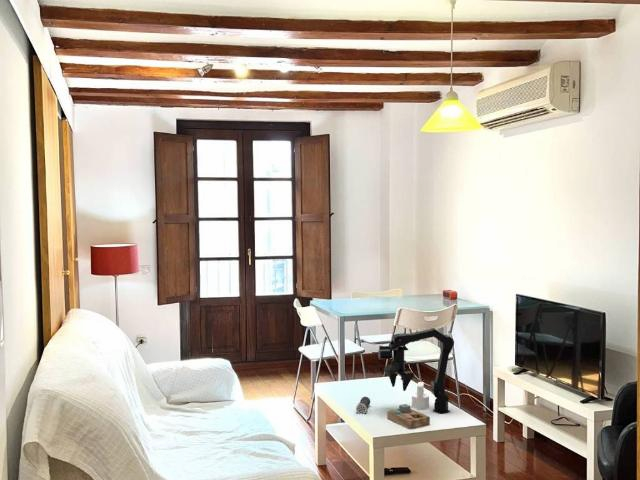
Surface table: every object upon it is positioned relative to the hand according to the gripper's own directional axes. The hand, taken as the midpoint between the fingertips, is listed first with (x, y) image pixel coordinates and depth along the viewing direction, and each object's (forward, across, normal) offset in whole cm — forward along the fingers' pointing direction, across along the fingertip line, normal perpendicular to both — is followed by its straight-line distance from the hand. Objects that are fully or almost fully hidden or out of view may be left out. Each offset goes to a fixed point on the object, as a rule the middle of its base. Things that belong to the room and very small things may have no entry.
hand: (398, 388), depth 334 cm
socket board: (+12, +14, -5) cm, 19 cm away
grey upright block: (+12, +10, -4) cm, 16 cm away
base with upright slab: (+13, -2, +16) cm, 21 cm away
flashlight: (+13, -14, -12) cm, 23 cm away
